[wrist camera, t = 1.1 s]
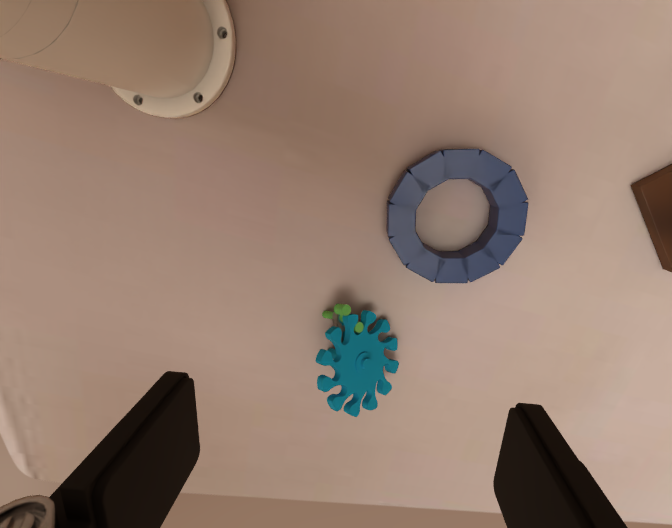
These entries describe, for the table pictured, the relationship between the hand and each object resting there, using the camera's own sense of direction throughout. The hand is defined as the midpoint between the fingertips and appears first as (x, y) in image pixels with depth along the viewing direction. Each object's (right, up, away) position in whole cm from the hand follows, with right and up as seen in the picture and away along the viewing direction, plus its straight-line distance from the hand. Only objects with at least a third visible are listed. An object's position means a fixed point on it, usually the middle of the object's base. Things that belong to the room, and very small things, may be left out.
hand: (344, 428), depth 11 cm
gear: (+2, -3, +28) cm, 28 cm away
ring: (+10, +9, +23) cm, 27 cm away
